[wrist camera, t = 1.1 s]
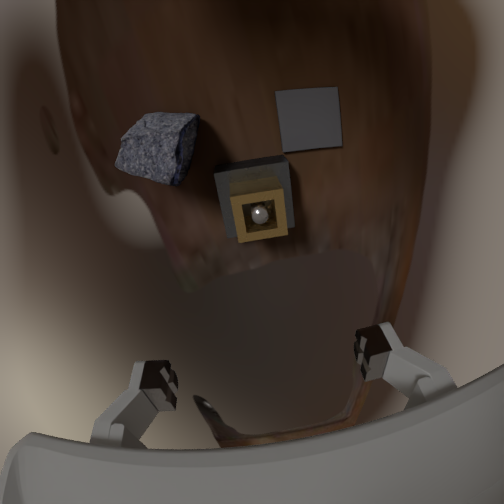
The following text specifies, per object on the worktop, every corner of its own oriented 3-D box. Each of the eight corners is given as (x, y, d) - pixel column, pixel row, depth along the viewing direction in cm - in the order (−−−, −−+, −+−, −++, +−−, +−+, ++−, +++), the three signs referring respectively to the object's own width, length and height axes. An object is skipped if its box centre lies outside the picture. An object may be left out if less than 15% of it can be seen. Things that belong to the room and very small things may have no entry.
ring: (229, 183, 39) (229, 197, 35) (276, 176, 39) (282, 188, 35) (237, 225, 43) (238, 243, 39) (281, 217, 43) (287, 234, 38)
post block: (214, 165, 42) (212, 186, 34) (282, 154, 42) (296, 172, 34) (227, 225, 47) (227, 256, 40) (289, 215, 47) (302, 244, 39)
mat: (274, 91, 37) (275, 91, 36) (336, 86, 36) (337, 87, 36) (282, 151, 41) (283, 152, 41) (340, 144, 41) (342, 145, 41)
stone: (215, 122, 40) (197, 187, 42) (153, 111, 40) (136, 173, 42) (199, 99, 28) (174, 187, 30) (120, 88, 28) (97, 170, 30)
